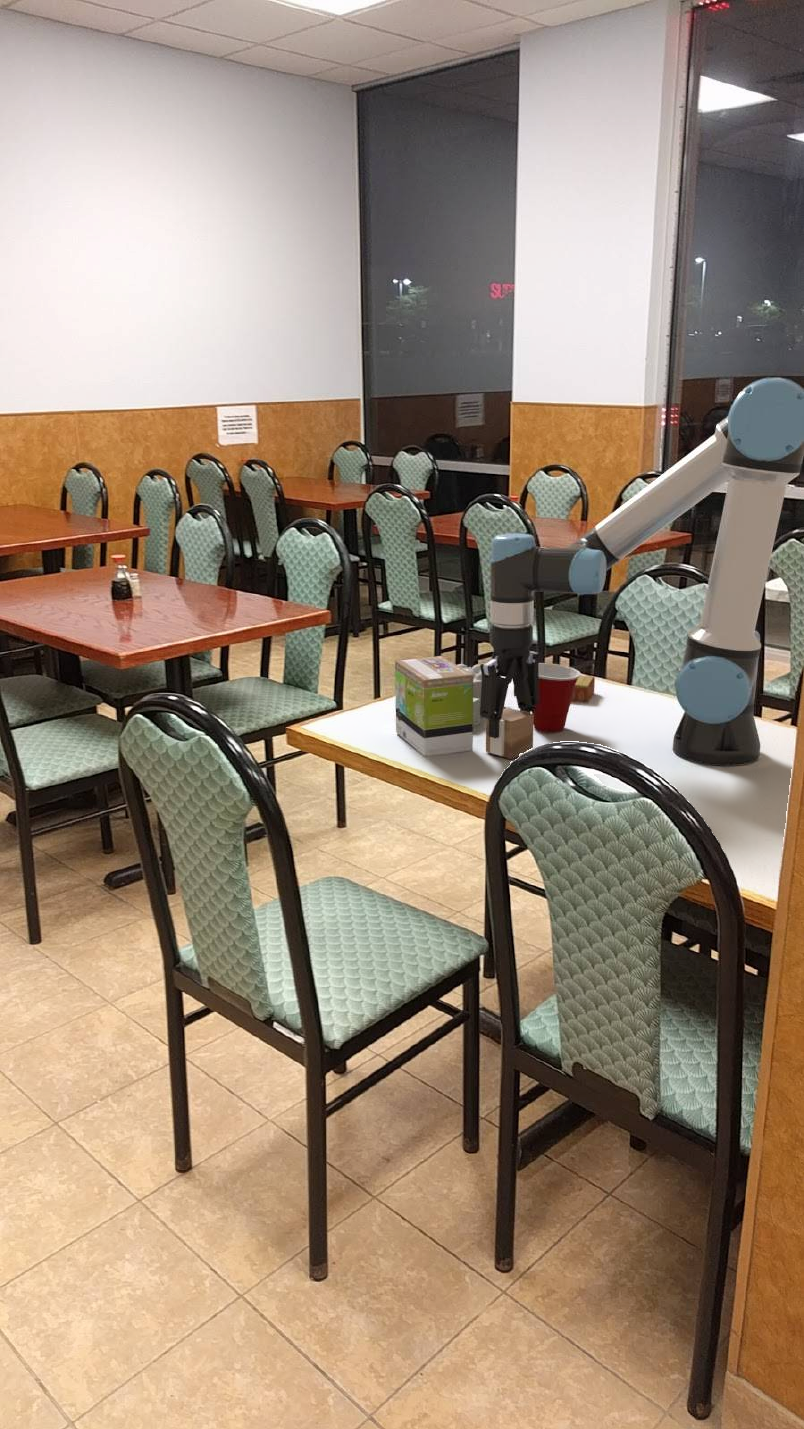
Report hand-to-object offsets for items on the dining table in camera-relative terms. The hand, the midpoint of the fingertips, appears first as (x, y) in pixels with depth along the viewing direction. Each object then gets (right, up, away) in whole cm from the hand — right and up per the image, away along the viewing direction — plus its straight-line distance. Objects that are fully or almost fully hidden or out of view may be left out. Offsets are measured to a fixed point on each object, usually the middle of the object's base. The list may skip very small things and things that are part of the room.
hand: (509, 749), depth 195 cm
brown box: (0, 0, 0) cm, 0 cm away
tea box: (-14, +1, +6) cm, 15 cm away
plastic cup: (+9, +3, +14) cm, 17 cm away
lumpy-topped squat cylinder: (-5, +7, +28) cm, 30 cm away
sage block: (-8, +4, +17) cm, 19 cm away
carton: (+13, +10, +38) cm, 41 cm away
